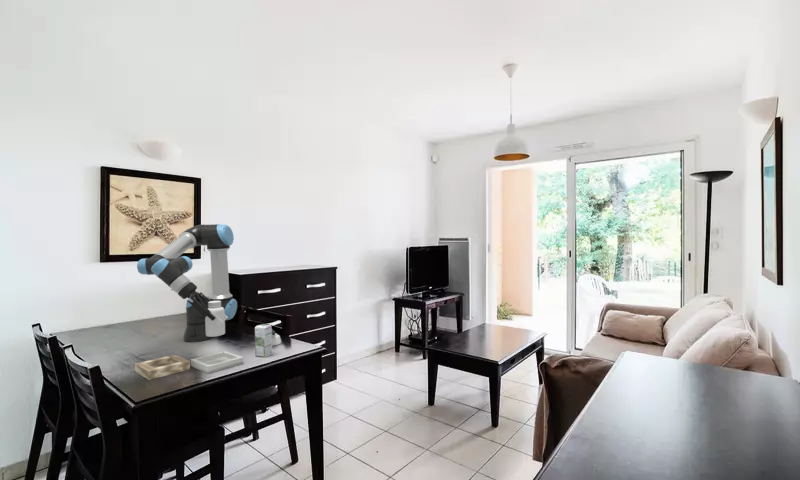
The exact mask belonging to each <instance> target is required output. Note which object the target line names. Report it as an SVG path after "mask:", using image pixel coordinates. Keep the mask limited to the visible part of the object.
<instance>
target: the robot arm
mask: <svg viewBox="0 0 800 480" xmlns="http://www.w3.org/2000/svg"><path fill="white" fill-rule="evenodd" d="M234 238H235V237H234V232H233V230H232V228H231V227H230V226H229V225H227V224H222V223H219V224H217V223H215V224H214V223H213V224H198V225H194V226H192V227H189V228H187V229H186V230H184V231H182V232H181V233H180V234H179V235H178V237H177V238H176V239H175V240H173V241H172V242H171V243H169V244H167V245H166V246H165V247H164V248H162V249H160V251H158V252H156V253H155V254H154V255H152V256H151V257H149V258H148V257H145V258H141V259H139V260H138V262H137V266H136V269H137V272H138V273H139V274H141V275H147V276H151V275H154V276H156V277H157V278H158V279H159V280H161V281H162V282H163V283H164V284H166V285H167V287H169V288H170V290H171V291H174V293H176V294H177V295H178V296H179V297H180V298H181V299H183V300H186V305H185V310H186V311H185V312H186V313H185V315H186V318H185V319H186V327H185V331H184V333H183V336H182V337H183V338H182V339H183V341H184V342H188V343H189V342H190V343H194V342H203V341H207V340H212V339H213V338H214V337H209V336H206V328H205V318H206V317H208V318H209V319H210V320H211V321H212V322H214V323H215V324H216V325H217V326H219V325H220V324H221V323H222V322H223V321H222V320H221V319H220V318H218V317H217V316H216V315H215V314H214V313H213V312H210V311H209V309H208V308H209V307H208V302H210V301H221V306H220V307H223V308H224V312H225V321H229V320H232V319H233V318H234V316H235V315H236V313H237V310H238V301H237V300H236V299H235V298H233V294H231V292H230V281H229V278H230V277H229V263H228V251H229V250H230V248H231V246H232V245H233V243H234ZM198 246H206V249H207V250H208V252H209V253H210V255H209V257H210V267H211V268H210V269H211V271H210V272H211V285H212V286H211V287H212V294H211V296H210V297H209V296H206V295H205V294H204V293H203V292H198V291H196V290H197V289H198V286H197V285H196V284H195V283H193V281H191V280H190V279H189V277H187V276H186V275H185V274H186V273H188V272H189V271H190V270H191V269H192V268H193V264H194V263H193V261H192V259H191V258H190V257H188V256H185V255H183V254H184V253H185V252H187V251H188V250H190V249H194V248H195V247H198ZM182 255H183V256H182ZM187 298H188V299H187Z"/></svg>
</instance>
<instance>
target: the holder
mask: <svg viewBox="0 0 800 480" xmlns="http://www.w3.org/2000/svg"><path fill="white" fill-rule="evenodd" d="M189 370H191V360H187V359H186V358H184V357H181V356H179V355H176V354H171V355H167V356H162V357H159V358H153V359H150V360H145V361H140V362H136V363H134V372H135V373H136V374H138V375H140V376H142V377H143V378H144V379H147V380H148V381H150V380H155V379H158V378H162V377H166V376H169V375H174V374H178V373H180V372H185V371H189Z"/></svg>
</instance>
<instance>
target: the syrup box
mask: <svg viewBox="0 0 800 480" xmlns="http://www.w3.org/2000/svg"><path fill="white" fill-rule="evenodd" d="M272 330H273V328H272V325H271V324H257V325H256V326H255V327H254V344H255V346H254V347H255V351H254V352H255V357H262V358H267V357H269V356H271V355H273V346H272Z"/></svg>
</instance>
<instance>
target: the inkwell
mask: <svg viewBox="0 0 800 480" xmlns="http://www.w3.org/2000/svg"><path fill="white" fill-rule="evenodd" d="M280 344H282V338H281V336H280V335H279V334H278V333H276V331H275V330H273V329H272V347H273V346H278V345H280Z"/></svg>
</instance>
